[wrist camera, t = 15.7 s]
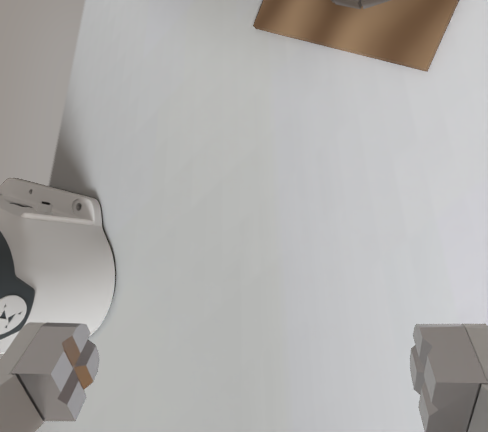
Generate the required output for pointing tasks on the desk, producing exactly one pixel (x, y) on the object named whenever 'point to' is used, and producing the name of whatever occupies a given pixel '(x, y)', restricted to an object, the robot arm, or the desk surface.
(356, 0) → the board
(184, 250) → the desk surface
